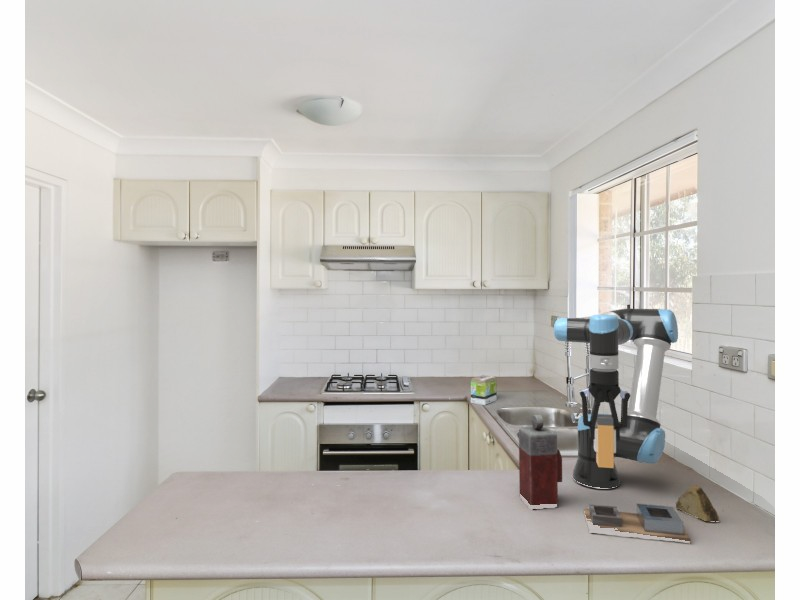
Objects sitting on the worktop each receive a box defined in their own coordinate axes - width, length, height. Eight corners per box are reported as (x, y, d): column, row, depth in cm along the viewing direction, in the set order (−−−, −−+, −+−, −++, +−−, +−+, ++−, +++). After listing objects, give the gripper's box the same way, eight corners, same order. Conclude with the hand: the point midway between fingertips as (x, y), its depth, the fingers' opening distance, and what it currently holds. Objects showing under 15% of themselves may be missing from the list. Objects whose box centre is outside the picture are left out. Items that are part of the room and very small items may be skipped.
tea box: (485, 405, 275) (485, 380, 274) (470, 403, 281) (469, 378, 280) (497, 400, 287) (496, 376, 286) (482, 398, 293) (481, 374, 292)
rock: (664, 500, 146) (682, 510, 136) (679, 476, 147) (698, 485, 137) (694, 521, 145) (715, 534, 136) (709, 498, 146) (731, 509, 136)
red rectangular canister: (565, 507, 148) (564, 417, 147) (530, 510, 146) (529, 419, 145) (551, 494, 156) (550, 410, 156) (519, 497, 155) (518, 412, 154)
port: (636, 515, 138) (636, 503, 138) (672, 518, 136) (672, 506, 136) (644, 531, 129) (644, 518, 129) (683, 535, 127) (683, 522, 127)
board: (583, 513, 143) (583, 500, 143) (676, 522, 137) (676, 508, 137) (589, 533, 132) (589, 519, 132) (690, 544, 125) (690, 529, 125)
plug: (596, 461, 138) (595, 414, 138) (611, 462, 137) (610, 414, 137) (598, 467, 134) (597, 418, 134) (613, 468, 133) (613, 418, 133)
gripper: (573, 370, 134) (574, 453, 134) (640, 372, 129) (640, 457, 130) (570, 366, 141) (571, 444, 142) (633, 367, 137) (634, 448, 137)
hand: (604, 450), depth 136 cm, fingers closed on plug, 4 cm apart
